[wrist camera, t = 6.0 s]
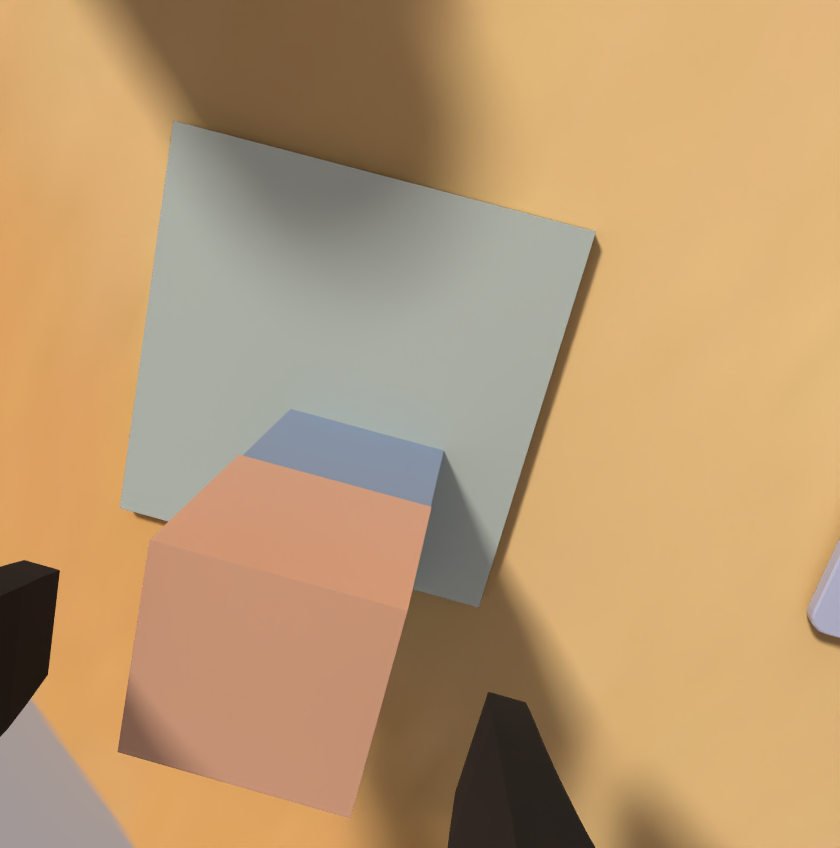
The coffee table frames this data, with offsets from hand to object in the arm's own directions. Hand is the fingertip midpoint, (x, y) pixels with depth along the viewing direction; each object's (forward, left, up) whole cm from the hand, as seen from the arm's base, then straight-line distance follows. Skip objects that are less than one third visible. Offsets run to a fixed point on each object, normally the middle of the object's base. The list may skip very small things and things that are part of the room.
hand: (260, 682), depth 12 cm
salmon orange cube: (0, 0, -4) cm, 4 cm away
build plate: (+1, -3, -8) cm, 9 cm away
